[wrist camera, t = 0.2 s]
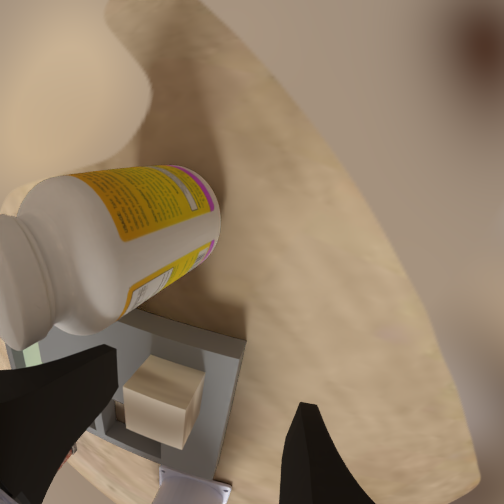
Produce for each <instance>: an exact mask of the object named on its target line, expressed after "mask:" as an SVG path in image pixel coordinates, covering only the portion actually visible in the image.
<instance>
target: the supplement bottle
mask: <svg viewBox="0 0 504 504" xmlns="http://www.w3.org/2000/svg"><path fill="white" fill-rule="evenodd" d="M220 229H221V214H220V208H219V204H218V201H217V198H216V196H215V194H214V192H213V190H212V189H211V187H210V186H209V184H208V183H207V182H206V181H205V180H204V179H203V178H202V177H201V176H200V175H199V174H197V173H196V172H194V171H192V170H190V169H188V168H186V167H183V166H178V165H155V166H142V167H130V168H120V169H111V170H102V171H93V172H86V173H78V174H70V175H63V176H58V177H53V178H49V179H46V180H44V181H42V182H40V183H38V184H37V185H36V186H34V187H33V188H32V189H31V190H30V191H29V192H28V194H27V195H26V197H25V198H24V200H23V201H22V203H21V205H20V208H19V210H18V213H17V217H14V216H8V215H5V214H1V215H0V337H1V338H2V340H3V341H4V342H5V343H6V344H7V345H8V346H9V347H11V348H12V349H14V350H16V351H22V350H24V349H26V348H28V347H30V346H31V345H33V344H35V343H37V342H39V341H41V340H43V339H44V338H45V337H46V336H47V334H48V332H49V331H50V330H51V329H52V327H53V325H54V326H56V327H58V328H59V329H61V330H62V331H65V332H67V333H69V334H73V335H81V336H85V335H92V334H95V333H98V332H100V331H102V330H104V329H105V328H107V327H108V326H110V325H111V324H113V323H114V322H116V321H117V320H119V319H120V318H121V317H123V316H124V315H126V314H127V313H129V312H130V311H132V310H133V309H135V308H136V307H137V306H139V305H140V304H142V303H143V302H145V301H146V300H148V299H149V298H151V297H152V296H154V295H155V294H157V293H158V292H160V291H161V290H163V289H164V288H165V287H167V286H168V285H170V284H171V283H173V282H174V281H176V280H177V279H179V278H180V277H182V276H183V275H185V274H186V273H188V272H189V271H191V270H192V269H194V268H195V267H197V266H198V265H199V264H201V263H202V262H203V261H204V260H205V259H207V257H208V256H209V255H210V254H211V253H212V251H213V249H214V248H215V246H216V244H217V241H218V238H219V234H220Z"/></svg>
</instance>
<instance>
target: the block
mask: <svg viewBox="0 0 504 504" xmlns="http://www.w3.org/2000/svg"><path fill="white" fill-rule="evenodd" d="M205 373H206V372H203V371H199V370H196V369H193V368H190V367H186V366H183V365H180V364H177V363H174V362H171V361H168V360H165V359H162V358H159V357H156V356H154V355H150V356H149V357H148V358H147V359H146V360H145V362H144V363H143V364H142V365H141V366H140V367H139V368H138V370H137V371H136V372H135V373H134V374H133V375H132V376H131V378H130V379H129V380H128V381H127V382H126V383H125V384H124V386H123V397H124V410H125V421H126V429H129V430H131V431H133V432H136V433H138V434H141V435H143V436H145V437H148V438H151V439H153V440H156V441H158V442H161V443H164V444H166V445H169V446H172V447H175V448H178V449H181V450H182V449H183V447H184V445H185V443H186V441H187V438H188V436H189V434H190V432H191V430H192V428H193V426H194V424H195V422H196V419H197V417H198V415H199V413H200V407H201V400H202V393H203V386H204V379H205Z"/></svg>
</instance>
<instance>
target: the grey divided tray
mask: <svg viewBox="0 0 504 504" xmlns="http://www.w3.org/2000/svg"><path fill="white" fill-rule="evenodd" d="M102 344H106V345H108V346H111V347H113V348H116V349H117V369H118V385H119V387H118V389H117V391H116V392H115V394H114V396H113V397H112V399H111V400H110V402H109V404H108V405H107V406H106V408H105V409H104V410H103V411H102V412H101V413H100V415H99V416H98V417H97V418H96V419H95V420H94V422H93V423H92V424H91V425H90V426H89V427H88V428H87V431H88V432H90V433H92V434H94V435H96V436H98V437H100V438H102V439H104V440H106V441H108V442H110V443H112V444H114V445H116V446H119V447H121V448H123V449H125V450H127V451H130V452H132V453H134V454H137V455H139V456H141V457H144V458H146V459H149V460H151V461H154V462H156V463H159V464H162V465H164V466H167V467H170V468H173V469H176V470H178V471H181V472H184V473H187V474H191V475H194V476H197V477H200V478H204V479H207V480H211V481H212V480H213V477H214V474H215V471H216V468H217V465H218V462H219V458H220V454H221V450H222V445H223V441H224V437H225V433H226V428H227V424H228V420H229V416H230V411H231V407H232V403H233V398H234V394H235V390H236V385H237V381H238V376H239V372H240V368H241V363H242V359H243V354H244V350H245V345H246V341H245V340H241V339H237V338H234V337H230V336H226V335H222V334H219V333H215V332H211V331H208V330H204V329H201V328H197V327H194V326H190V325H187V324H184V323H180V322H177V321H174V320H170V319H167V318H164V317H161V316H158V315H154V314H151V313H148V312H145V311H142V310H139V309H136V308H135V309H133V310H132V311H130V312H129V313H127V314H126V315H124V316H123V317H121V318H120V319H119V320H117V321H116V322H114V323H113V324H111V325H110V326H108V327H107V328H105V329H104V330H102V331H100V332H98V333H95V334H92V335H85V336H81V335H73V334H69V333H67V332H65V331H62V330H61V329H59V328H58V327H56V326H54V325H53V327H52V329H51V330H50V331H49V332H48V334H47V336H46V337H45V338H44V339H43V340H41V341H39V342H37V343H35V344H33V345H31V346H30V347H28V348H26V349H24V350H22V351H16V350H14V349H12V348H11V347H9V346H8V345H7V344H6V343H5V345H6V349H7V353H8V357H9V361H10V365H11V369H19V368H25V367H31V366H35V365H39V364H43V363H47V362H50V361H54V360H57V359H61V358H64V357H66V356H69V355H72V354H75V353H78V352H81V351H84V350H87V349H89V348H92V347H95V346H98V345H102ZM150 355H154V356H156V357H159V358H162V359H165V360H168V361H171V362H174V363H177V364H180V365H183V366H186V367H190V368H193V369H196V370H199V371H203V372H206V373H205V379H204V386H203V393H202V400H201V407H200V413H199V415H198V417H197V419H196V422H195V424H194V426H193V428H192V430H191V432H190V434H189V436H188V438H187V441H186V443H185V445H184V447H183V449H182V450H181V449H178V448H175V447H172V446H169V445H166V444H164V443H161V442H158V441H156V440H153V439H151V438H148V437H145V436H143V435H141V434H138V433H136V432H133V431H131V430H129V429H126V424H124V423H122V422H120V421H118V420H116V412H115V403H114V400H116V401H118V402H120V403H122V404H124V397H123V386H124V384H125V383H126V382H127V381H128V380H129V379H130V378H131V376H132V375H133V374H134V373H135V372H136V371H137V370H138V368H139V367H140V366H141V365H142V364H143V363H144V362H145V360H146V359H147V358H148V357H149V356H150Z"/></svg>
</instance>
